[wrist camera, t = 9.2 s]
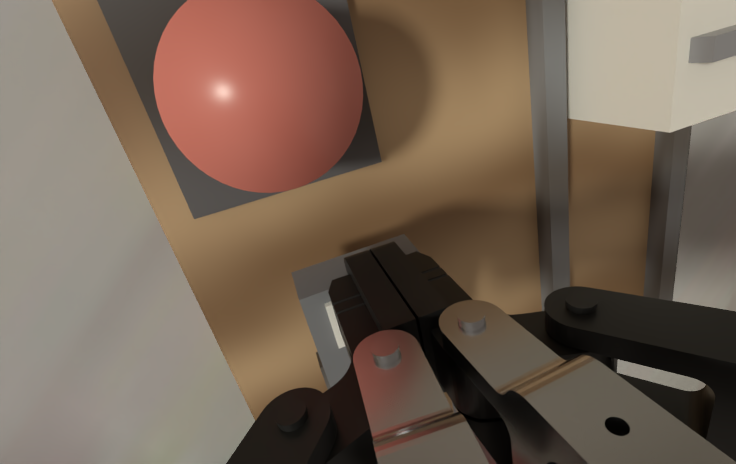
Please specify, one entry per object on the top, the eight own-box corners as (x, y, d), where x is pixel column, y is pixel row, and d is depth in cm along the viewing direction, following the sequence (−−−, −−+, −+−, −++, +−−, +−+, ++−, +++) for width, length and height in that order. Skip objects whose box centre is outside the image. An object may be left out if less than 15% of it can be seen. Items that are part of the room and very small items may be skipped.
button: (352, 144, 13) (380, 162, 10) (211, 186, 12) (203, 216, 9) (313, -17, 11) (336, -43, 8) (143, 21, 10) (111, 4, 8)
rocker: (438, 428, 18) (455, 461, 16) (359, 463, 17) (371, 500, 16) (404, 233, 13) (425, 258, 11) (291, 272, 12) (300, 303, 11)
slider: (655, 89, 15) (807, 95, 11) (564, 117, 15) (691, 135, 11) (663, -34, 14) (846, -79, 10) (562, -8, 13) (712, -46, 9)
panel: (624, 304, 23) (688, 343, 20) (285, 446, 20) (294, 521, 17) (646, -136, 15) (762, -195, 12) (69, -24, 12) (2, -62, 8)
